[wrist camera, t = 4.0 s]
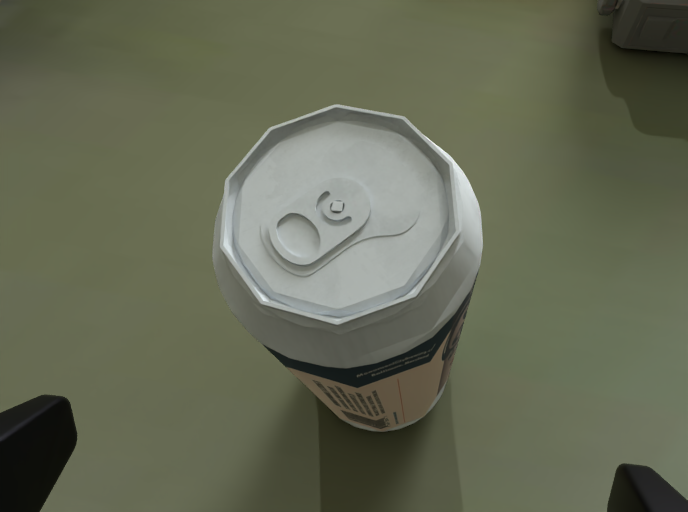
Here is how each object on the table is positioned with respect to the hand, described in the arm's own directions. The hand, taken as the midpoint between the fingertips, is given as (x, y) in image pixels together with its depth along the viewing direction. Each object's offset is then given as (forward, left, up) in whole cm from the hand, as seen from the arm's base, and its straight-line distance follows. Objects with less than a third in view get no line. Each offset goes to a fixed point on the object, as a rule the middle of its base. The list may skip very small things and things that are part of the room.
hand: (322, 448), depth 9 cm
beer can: (+2, +3, -11) cm, 11 cm away
